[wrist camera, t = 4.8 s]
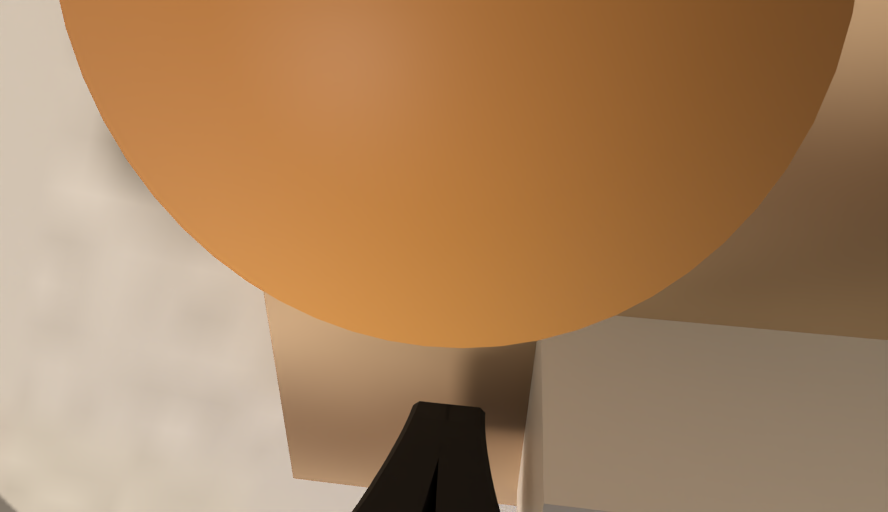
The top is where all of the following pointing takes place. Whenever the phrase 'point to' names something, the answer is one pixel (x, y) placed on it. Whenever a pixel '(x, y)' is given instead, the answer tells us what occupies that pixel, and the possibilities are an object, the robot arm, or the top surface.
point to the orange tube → (459, 145)
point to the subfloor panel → (687, 300)
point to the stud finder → (705, 420)
